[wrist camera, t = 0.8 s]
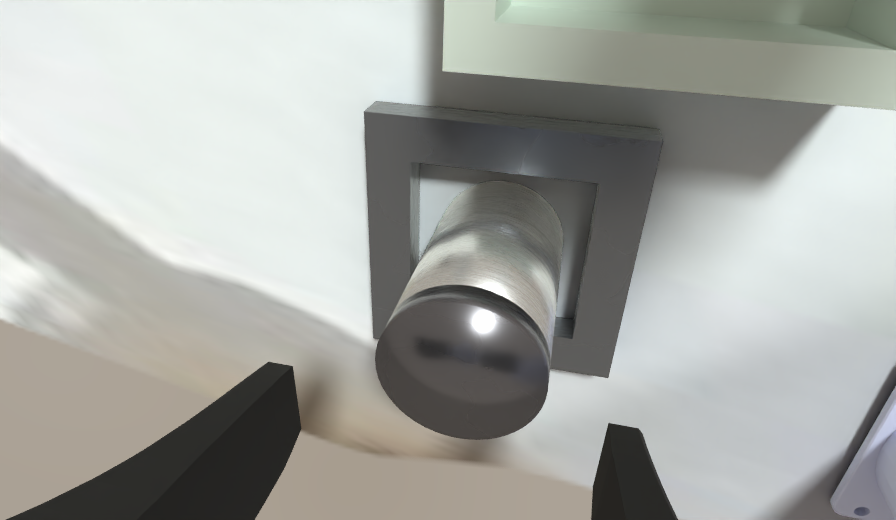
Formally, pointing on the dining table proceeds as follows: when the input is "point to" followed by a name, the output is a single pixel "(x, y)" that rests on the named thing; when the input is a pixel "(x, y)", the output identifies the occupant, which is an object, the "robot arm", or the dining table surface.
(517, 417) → the shiny metal cylinder
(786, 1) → the bin
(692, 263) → the dining table surface
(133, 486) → the robot arm
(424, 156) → the grey square frame
